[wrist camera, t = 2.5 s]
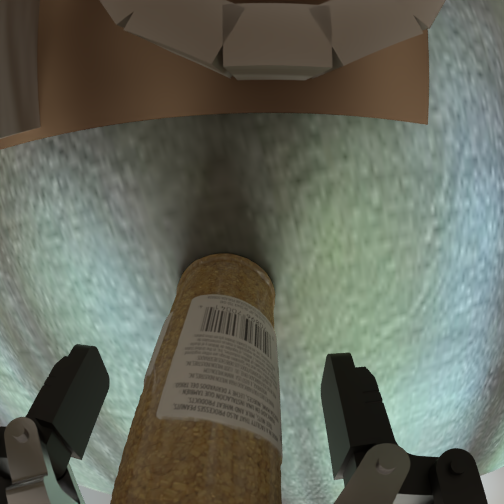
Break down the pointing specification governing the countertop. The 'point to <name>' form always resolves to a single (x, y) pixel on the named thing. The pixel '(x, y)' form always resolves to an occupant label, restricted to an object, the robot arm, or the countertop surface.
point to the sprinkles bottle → (209, 395)
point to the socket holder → (208, 61)
